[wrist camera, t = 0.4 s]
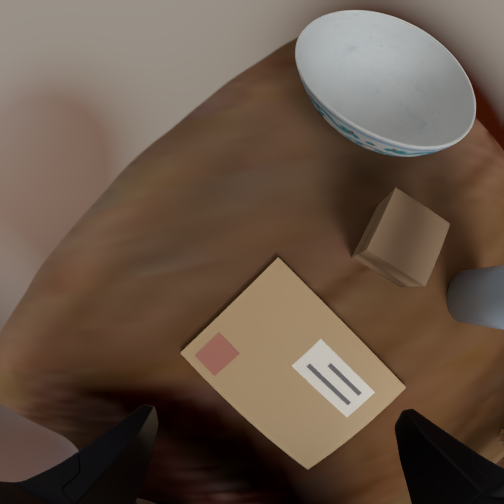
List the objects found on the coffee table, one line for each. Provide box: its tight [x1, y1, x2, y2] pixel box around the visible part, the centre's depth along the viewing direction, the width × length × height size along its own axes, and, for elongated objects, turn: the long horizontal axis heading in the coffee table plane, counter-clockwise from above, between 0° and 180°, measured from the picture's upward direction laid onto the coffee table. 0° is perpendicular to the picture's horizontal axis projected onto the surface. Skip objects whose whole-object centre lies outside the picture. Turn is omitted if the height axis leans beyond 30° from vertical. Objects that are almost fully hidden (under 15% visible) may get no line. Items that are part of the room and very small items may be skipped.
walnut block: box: [351, 187, 450, 287], centre depth 20 cm, size 5×5×5 cm
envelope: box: [181, 257, 406, 470], centre depth 22 cm, size 16×12×1 cm
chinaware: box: [295, 10, 476, 157], centre depth 20 cm, size 15×15×8 cm
